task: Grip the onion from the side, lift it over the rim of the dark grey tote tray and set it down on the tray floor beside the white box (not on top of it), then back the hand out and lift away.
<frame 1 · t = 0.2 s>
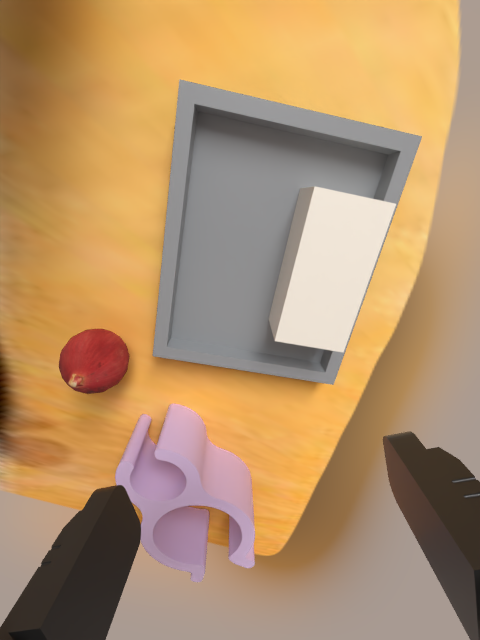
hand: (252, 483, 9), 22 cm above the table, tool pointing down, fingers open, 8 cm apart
tote tray: (267, 254, 29), on the table
clip: (195, 466, 39), on the table
white box: (314, 264, 28), point 1 cm above the table, touching tote tray
onion: (111, 342, 32), on the table
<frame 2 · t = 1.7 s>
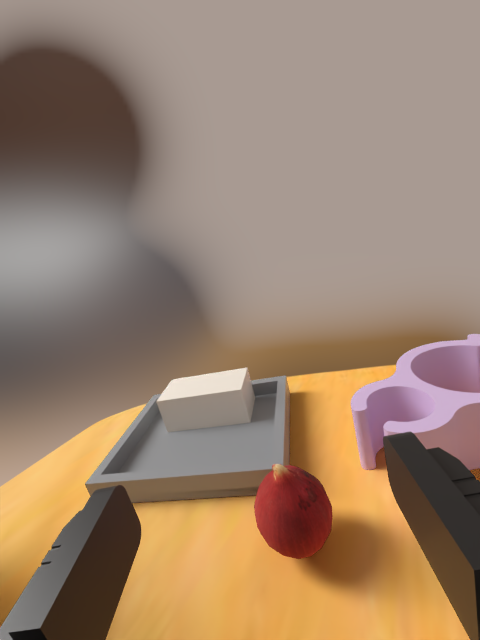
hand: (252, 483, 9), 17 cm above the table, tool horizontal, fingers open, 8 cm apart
tote tray: (206, 440, 40), on the table
clip: (452, 436, 31), on the table
white box: (212, 414, 44), point 1 cm above the table, touching tote tray
onion: (302, 546, 25), on the table
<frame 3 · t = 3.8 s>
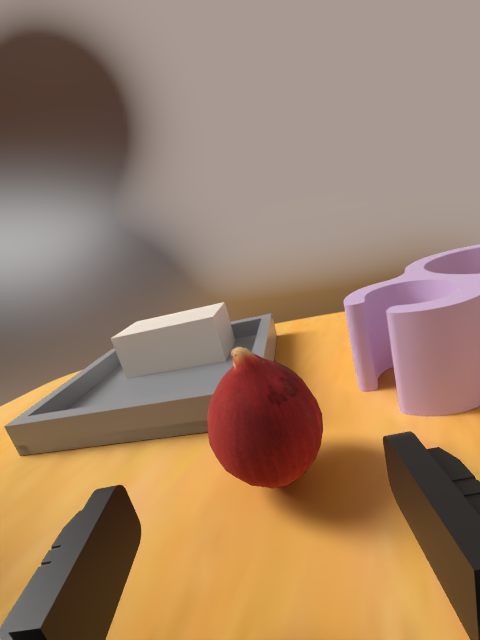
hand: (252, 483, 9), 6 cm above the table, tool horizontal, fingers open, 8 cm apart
tote tray: (172, 384, 33), on the table
clip: (479, 354, 24), on the table
white box: (183, 358, 36), point 1 cm above the table, touching tote tray
onion: (280, 482, 17), on the table
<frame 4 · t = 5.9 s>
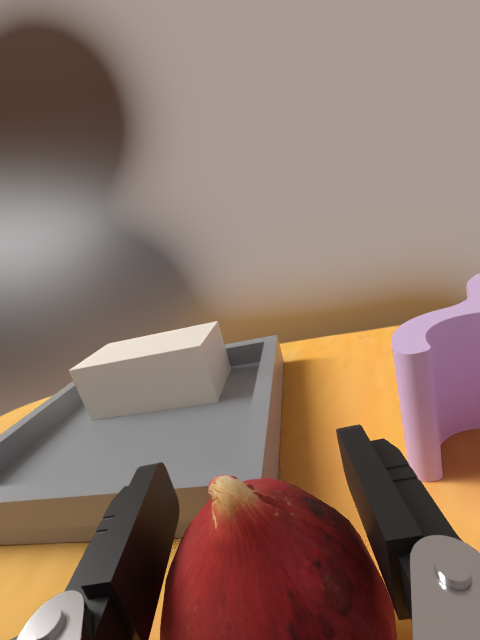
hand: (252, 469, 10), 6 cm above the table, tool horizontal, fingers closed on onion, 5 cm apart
tote tray: (147, 432, 25), on the table
white box: (164, 393, 29), point 1 cm above the table, touching tote tray
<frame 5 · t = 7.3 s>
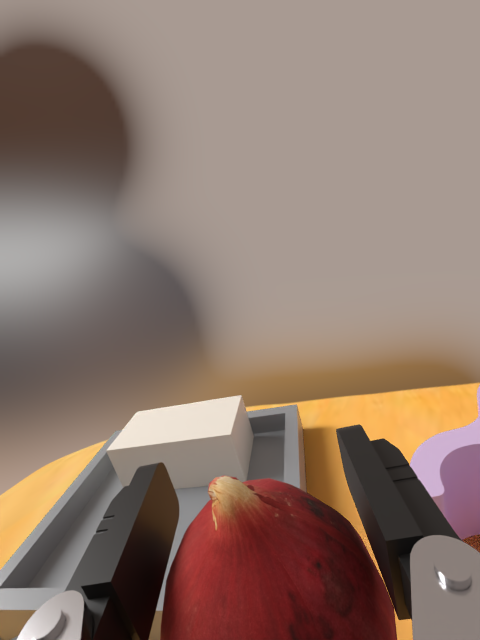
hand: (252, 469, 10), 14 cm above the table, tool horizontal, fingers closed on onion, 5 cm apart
tote tray: (181, 510, 27), on the table
white box: (192, 463, 31), point 1 cm above the table, touching tote tray
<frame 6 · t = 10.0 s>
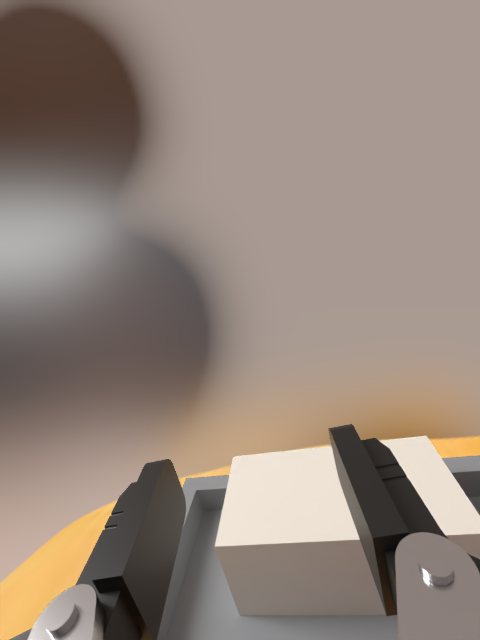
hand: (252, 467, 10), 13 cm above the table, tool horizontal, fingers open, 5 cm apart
white box: (344, 552, 18), point 1 cm above the table, touching tote tray
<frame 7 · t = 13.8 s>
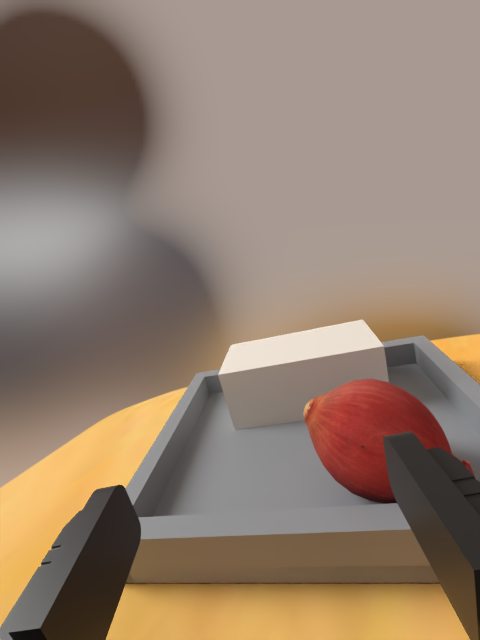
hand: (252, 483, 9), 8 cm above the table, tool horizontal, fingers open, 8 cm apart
tote tray: (312, 444, 22), on the table
white box: (306, 398, 26), point 1 cm above the table, touching tote tray
onion: (301, 406, 17), point 6 cm above the table, touching tote tray
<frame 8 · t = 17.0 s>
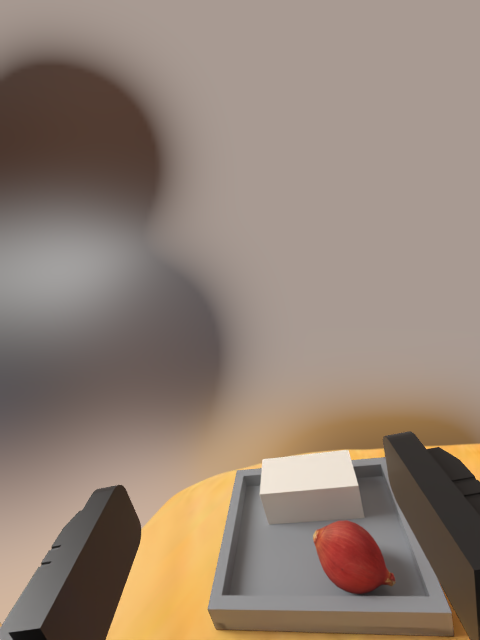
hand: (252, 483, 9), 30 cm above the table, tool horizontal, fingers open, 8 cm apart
tote tray: (317, 539, 37), on the table
white box: (312, 500, 41), point 1 cm above the table, touching tote tray
onion: (311, 533, 32), point 6 cm above the table, touching tote tray
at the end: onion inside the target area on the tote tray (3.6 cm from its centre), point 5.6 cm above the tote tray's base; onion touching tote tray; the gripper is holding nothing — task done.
